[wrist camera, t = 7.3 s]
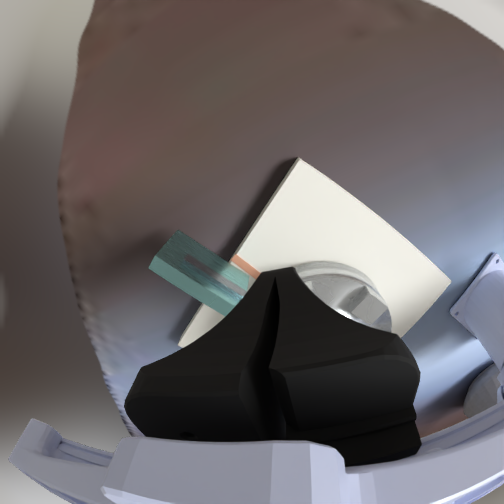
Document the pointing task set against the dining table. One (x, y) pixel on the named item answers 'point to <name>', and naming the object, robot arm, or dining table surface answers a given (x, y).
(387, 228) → the base plate
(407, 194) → the dining table surface
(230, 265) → the teal elongated tool
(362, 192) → the dining table surface
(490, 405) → the coffee pot
